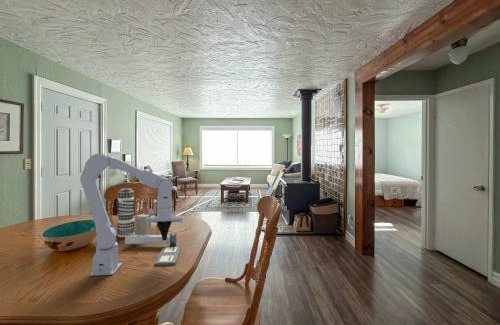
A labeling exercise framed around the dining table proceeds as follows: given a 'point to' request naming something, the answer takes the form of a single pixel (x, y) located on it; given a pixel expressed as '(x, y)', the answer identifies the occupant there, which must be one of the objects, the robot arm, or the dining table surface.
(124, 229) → the decorative candle
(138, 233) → the skincare box
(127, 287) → the dining table surface
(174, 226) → the dining table surface
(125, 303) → the dining table surface
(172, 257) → the label board
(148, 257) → the dining table surface
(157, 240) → the swing arm
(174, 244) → the grey joystick
